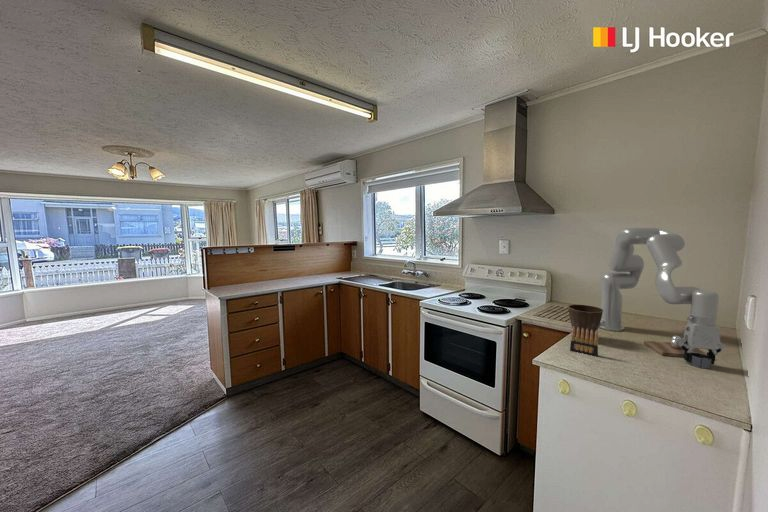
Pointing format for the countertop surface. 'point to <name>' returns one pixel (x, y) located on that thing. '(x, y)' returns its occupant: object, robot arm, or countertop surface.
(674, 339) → the silver egg
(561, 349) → the countertop surface
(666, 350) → the base plate
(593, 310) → the plant pot
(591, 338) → the ammunition clip
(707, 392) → the countertop surface
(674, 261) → the robot arm
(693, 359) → the steel ring
